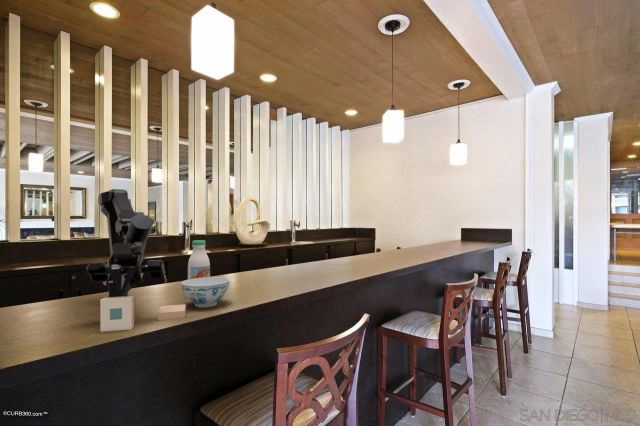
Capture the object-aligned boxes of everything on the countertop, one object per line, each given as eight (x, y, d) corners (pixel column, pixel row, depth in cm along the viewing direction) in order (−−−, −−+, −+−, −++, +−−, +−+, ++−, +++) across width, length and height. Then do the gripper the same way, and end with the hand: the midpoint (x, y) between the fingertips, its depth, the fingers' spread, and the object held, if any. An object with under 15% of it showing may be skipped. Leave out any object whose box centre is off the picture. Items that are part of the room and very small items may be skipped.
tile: (104, 328, 88) (104, 297, 88) (133, 326, 89) (133, 296, 90) (100, 331, 85) (100, 299, 86) (131, 329, 87) (131, 298, 87)
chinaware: (239, 302, 114) (239, 279, 114) (203, 313, 101) (203, 287, 101) (208, 297, 121) (208, 275, 122) (171, 307, 109) (171, 282, 109)
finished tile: (160, 314, 102) (160, 306, 102) (186, 312, 104) (185, 304, 105) (157, 321, 95) (157, 313, 95) (184, 319, 97) (184, 310, 97)
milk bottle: (183, 296, 123) (183, 241, 123) (196, 292, 130) (195, 239, 130) (202, 297, 121) (202, 241, 121) (214, 293, 128) (214, 239, 129)
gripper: (88, 233, 92) (69, 281, 82) (163, 231, 97) (153, 277, 86) (100, 258, 100) (83, 305, 89) (168, 256, 104) (160, 301, 93)
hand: (120, 297), depth 89 cm, fingers closed
